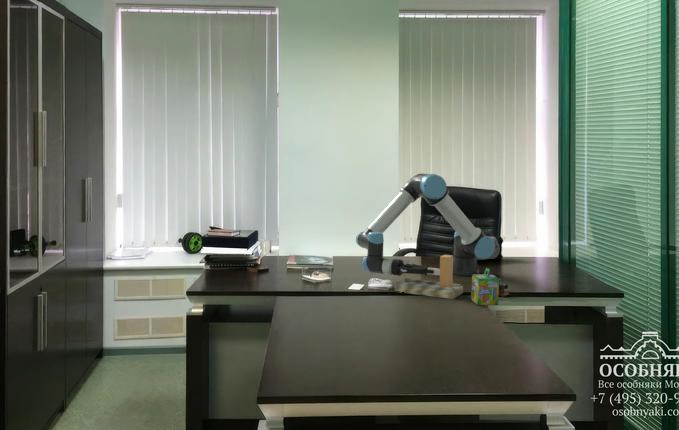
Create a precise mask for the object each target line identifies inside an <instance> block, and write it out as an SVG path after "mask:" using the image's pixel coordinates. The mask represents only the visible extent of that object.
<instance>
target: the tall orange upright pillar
mask: <svg viewBox="0 0 679 430" xmlns="http://www.w3.org/2000/svg"><path fill="white" fill-rule="evenodd" d="M439 269H440V275H439V282H440V286H439V287H448V288H450V287H452V284H454V283H453V276H454V274H453V255H452V254H451V255H450V254H443V255H441V256H439Z"/></svg>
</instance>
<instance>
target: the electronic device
mask: <svg viewBox="0 0 679 430" xmlns="http://www.w3.org/2000/svg"><path fill="white" fill-rule="evenodd" d="M508 287H509V286H508V284H507V283H505V284H504V283H503V278H499V294H498V297H501V298H506V297H508V296H509V295H510V293H509V292H507V291H505V290H507V289H508Z"/></svg>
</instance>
